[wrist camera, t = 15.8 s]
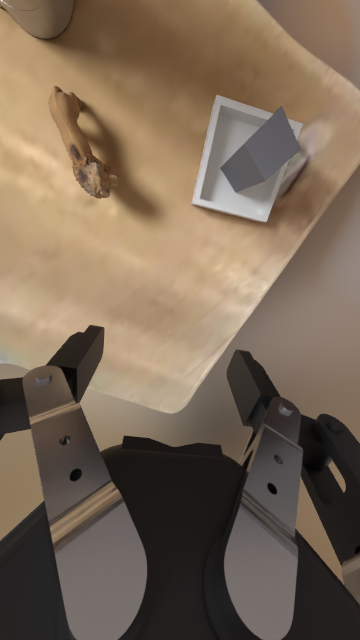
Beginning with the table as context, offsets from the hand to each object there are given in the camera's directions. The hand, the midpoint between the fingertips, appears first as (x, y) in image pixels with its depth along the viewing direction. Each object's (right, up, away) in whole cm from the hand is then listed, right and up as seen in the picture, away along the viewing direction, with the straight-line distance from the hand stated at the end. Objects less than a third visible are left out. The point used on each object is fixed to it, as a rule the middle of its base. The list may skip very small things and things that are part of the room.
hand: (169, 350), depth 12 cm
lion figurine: (-13, +28, +19) cm, 36 cm away
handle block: (+10, +26, +20) cm, 34 cm away
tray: (+10, +26, +21) cm, 35 cm away
